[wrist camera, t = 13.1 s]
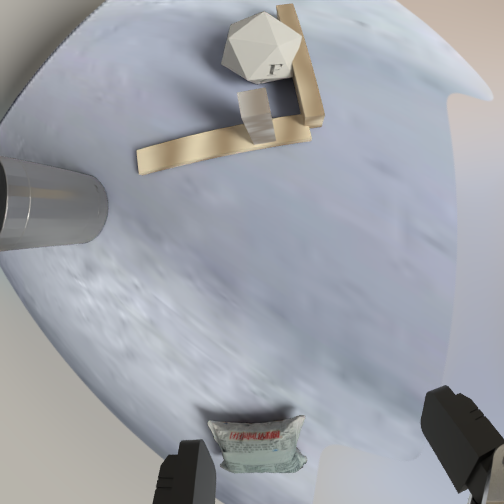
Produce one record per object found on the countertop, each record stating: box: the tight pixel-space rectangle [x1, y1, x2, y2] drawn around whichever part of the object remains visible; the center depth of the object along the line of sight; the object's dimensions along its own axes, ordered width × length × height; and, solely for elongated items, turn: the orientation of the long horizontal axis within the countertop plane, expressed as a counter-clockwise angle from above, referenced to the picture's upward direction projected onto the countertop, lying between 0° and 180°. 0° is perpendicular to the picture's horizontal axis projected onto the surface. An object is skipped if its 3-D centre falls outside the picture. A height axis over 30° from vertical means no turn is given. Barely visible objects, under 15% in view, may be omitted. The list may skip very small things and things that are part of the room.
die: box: [221, 11, 302, 85], centre depth 30 cm, size 8×9×10 cm
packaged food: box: [208, 415, 307, 473], centre depth 35 cm, size 9×12×5 cm
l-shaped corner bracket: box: [137, 4, 325, 175], centre depth 29 cm, size 22×17×10 cm
